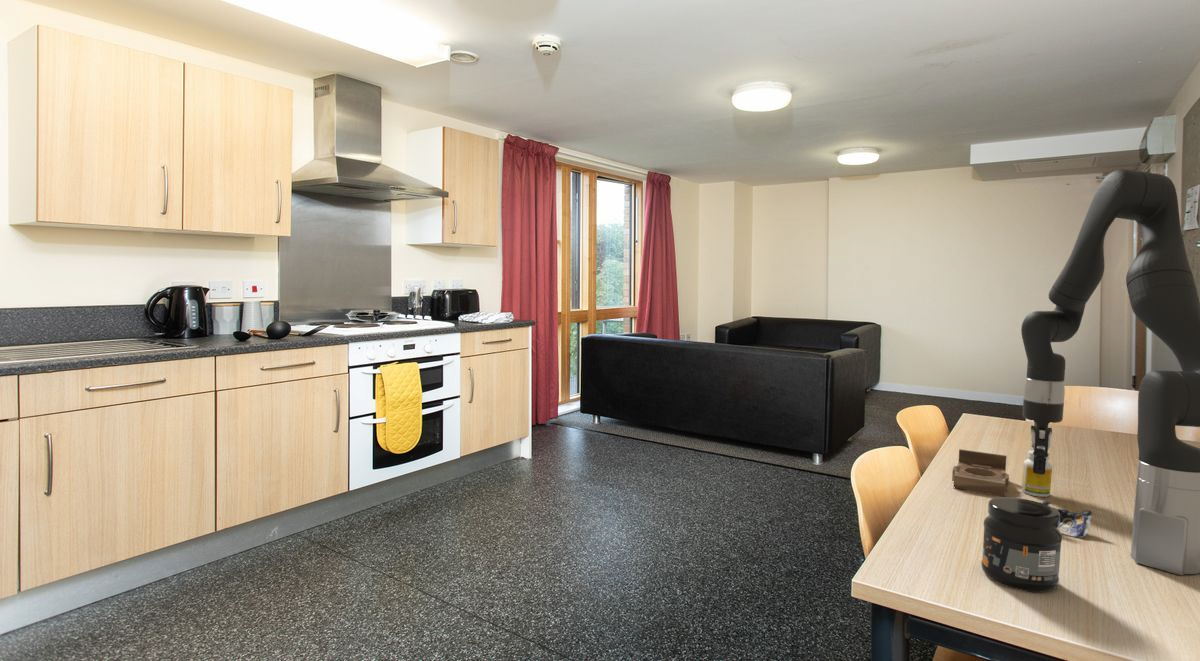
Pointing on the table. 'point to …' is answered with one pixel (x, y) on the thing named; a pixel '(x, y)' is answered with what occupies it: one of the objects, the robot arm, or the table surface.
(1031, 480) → the supplement bottle
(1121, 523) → the table surface
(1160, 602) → the table surface
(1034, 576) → the supplement container
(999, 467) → the brown bottle holder
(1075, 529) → the snack package
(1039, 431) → the robot arm
